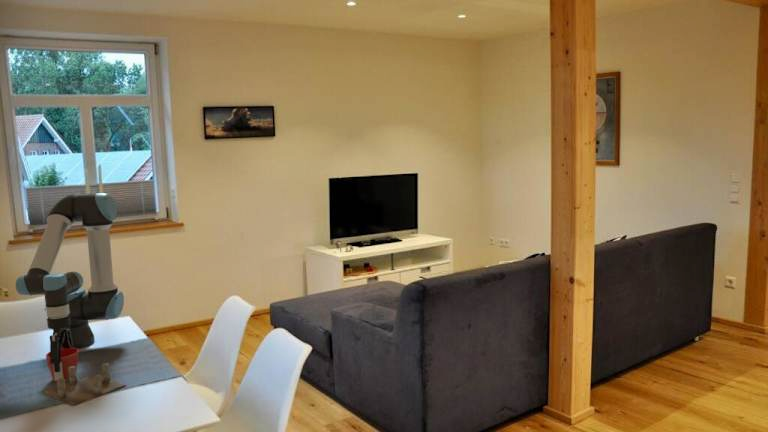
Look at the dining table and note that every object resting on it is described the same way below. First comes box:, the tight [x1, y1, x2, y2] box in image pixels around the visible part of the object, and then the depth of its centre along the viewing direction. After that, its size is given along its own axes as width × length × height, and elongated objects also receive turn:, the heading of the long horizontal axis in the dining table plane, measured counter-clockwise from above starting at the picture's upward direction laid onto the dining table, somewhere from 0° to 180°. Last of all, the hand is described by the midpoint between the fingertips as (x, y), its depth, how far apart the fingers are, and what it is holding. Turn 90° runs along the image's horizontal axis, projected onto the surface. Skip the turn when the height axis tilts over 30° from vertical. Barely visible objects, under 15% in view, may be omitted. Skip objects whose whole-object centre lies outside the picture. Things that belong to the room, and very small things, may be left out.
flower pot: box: [45, 348, 79, 382], centre depth 228 cm, size 11×11×10 cm
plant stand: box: [44, 363, 127, 407], centre depth 216 cm, size 19×19×7 cm
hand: (64, 374), depth 229 cm, fingers closed on flower pot, 10 cm apart
